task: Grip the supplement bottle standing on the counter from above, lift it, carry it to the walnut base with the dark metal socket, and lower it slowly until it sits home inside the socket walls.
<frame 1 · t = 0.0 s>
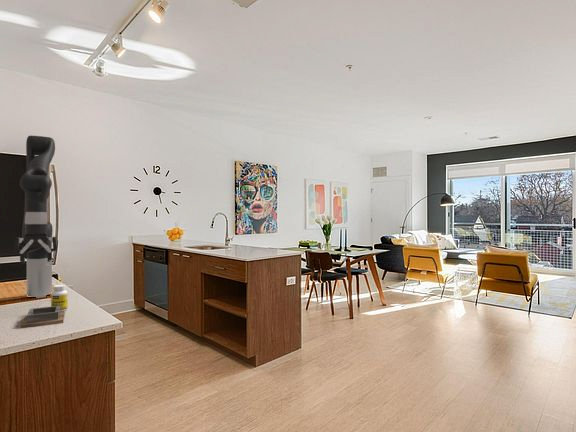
hand: (36, 262, 144), 17 cm above the counter, tool pointing down, fingers open, 8 cm apart
socket base: (44, 320, 124), on the counter
supplement bottle: (59, 311, 135), on the counter
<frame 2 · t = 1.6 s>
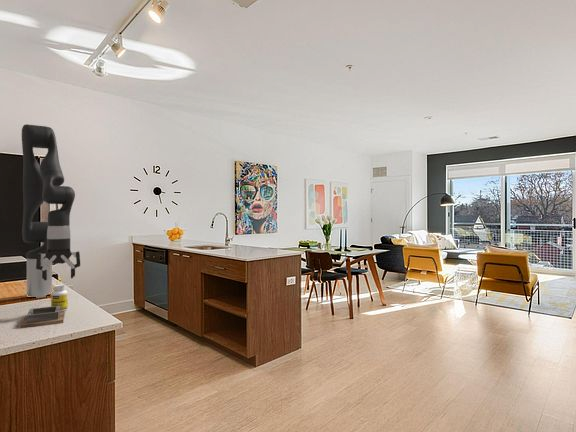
hand: (58, 279, 135), 12 cm above the counter, tool pointing down, fingers open, 8 cm apart
nothing on the counter moved.
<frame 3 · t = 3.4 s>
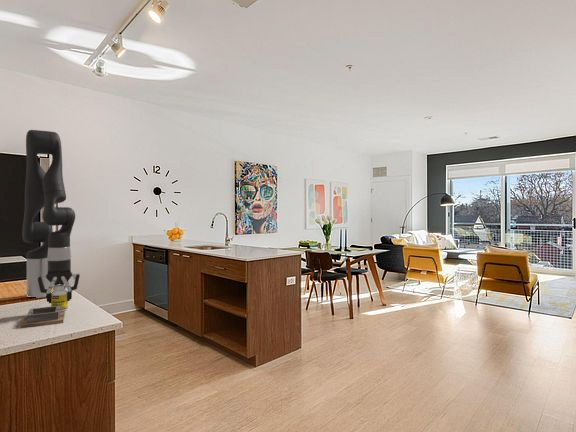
hand: (59, 301, 135), 3 cm above the counter, tool pointing down, fingers closed on supplement bottle, 5 cm apart
supplement bottle: (59, 310, 135), on the counter, touching gripper
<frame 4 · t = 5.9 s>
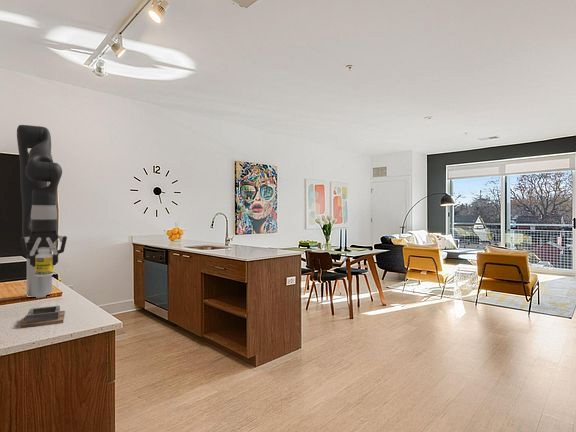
hand: (44, 265, 123), 20 cm above the counter, tool pointing down, fingers closed on supplement bottle, 5 cm apart
supplement bottle: (44, 275, 123), point 16 cm above the counter, touching gripper
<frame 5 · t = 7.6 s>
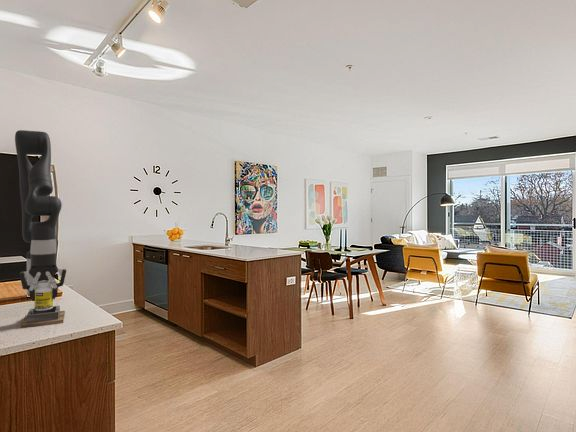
hand: (43, 299, 123), 8 cm above the counter, tool pointing down, fingers closed on supplement bottle, 5 cm apart
supplement bottle: (43, 309, 124), point 4 cm above the counter, touching gripper
when the fingers open (6 cm above the counter, at t = 8.8 s): supplement bottle drops 1 cm, resting on socket base.
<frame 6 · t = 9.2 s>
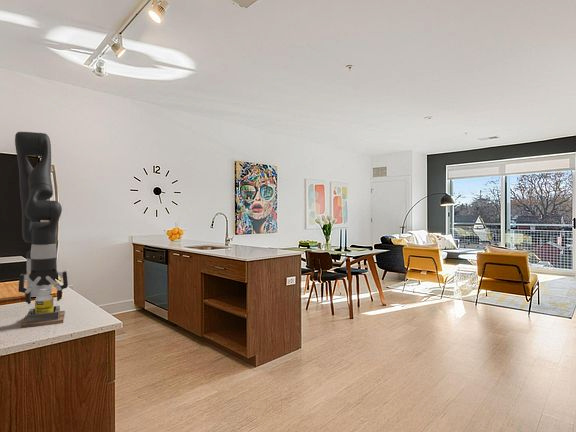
hand: (44, 301, 124), 7 cm above the counter, tool pointing down, fingers open, 8 cm apart
supplement bottle: (44, 317, 124), point 1 cm above the counter, touching socket base
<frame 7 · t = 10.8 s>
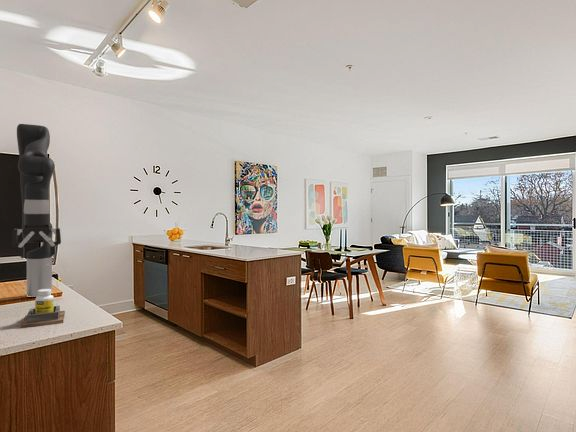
hand: (37, 257, 126), 22 cm above the counter, tool pointing down, fingers open, 8 cm apart
nothing on the counter moved.
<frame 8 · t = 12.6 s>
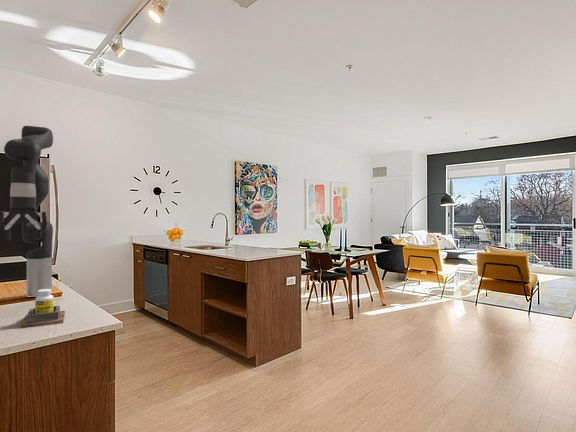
hand: (23, 239, 128), 28 cm above the counter, tool pointing down, fingers open, 8 cm apart
nothing on the counter moved.
at the end: supplement bottle 0.1 cm off-centre on the socket base, point 0.8 cm above the socket base's base; supplement bottle tilted 0°; the gripper is holding nothing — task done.
